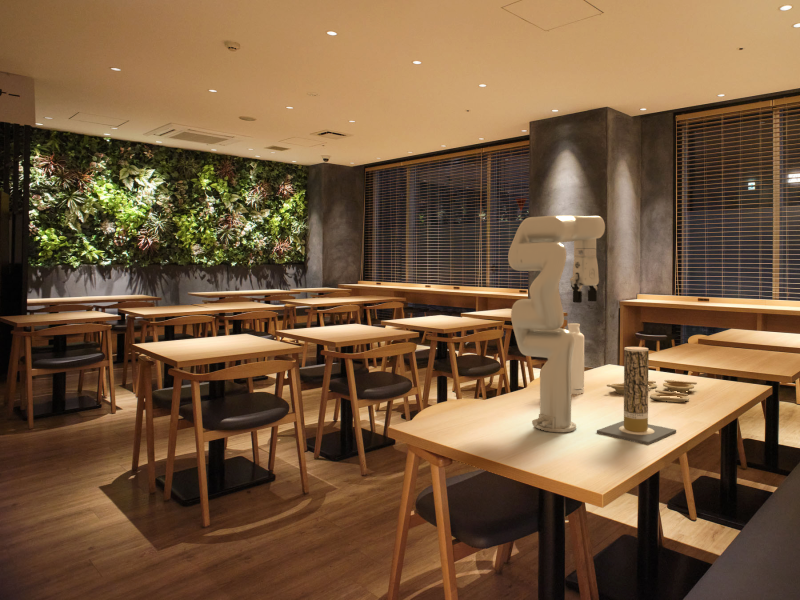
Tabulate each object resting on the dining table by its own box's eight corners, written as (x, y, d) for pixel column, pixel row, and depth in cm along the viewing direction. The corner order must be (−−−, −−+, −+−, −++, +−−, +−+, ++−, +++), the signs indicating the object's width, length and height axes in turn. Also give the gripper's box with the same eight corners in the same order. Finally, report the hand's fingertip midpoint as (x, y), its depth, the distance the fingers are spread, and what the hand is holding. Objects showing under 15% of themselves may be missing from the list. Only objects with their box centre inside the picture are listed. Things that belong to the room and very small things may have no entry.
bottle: (581, 395, 224) (581, 325, 223) (560, 392, 229) (561, 324, 227) (586, 391, 231) (586, 323, 230) (566, 389, 236) (566, 322, 234)
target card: (648, 444, 160) (648, 441, 160) (596, 432, 172) (596, 430, 172) (676, 432, 172) (676, 429, 172) (626, 422, 184) (626, 419, 184)
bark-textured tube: (650, 433, 168) (651, 349, 167) (626, 432, 169) (626, 349, 168) (645, 427, 174) (645, 346, 173) (621, 426, 176) (622, 346, 175)
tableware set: (684, 406, 205) (684, 395, 205) (602, 396, 223) (603, 386, 223) (701, 389, 233) (701, 380, 233) (628, 382, 251) (628, 373, 251)
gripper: (581, 253, 193) (580, 303, 194) (607, 254, 204) (607, 301, 205) (562, 254, 198) (562, 302, 199) (588, 254, 210) (588, 300, 211)
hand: (584, 301), depth 202 cm, fingers open, 9 cm apart
